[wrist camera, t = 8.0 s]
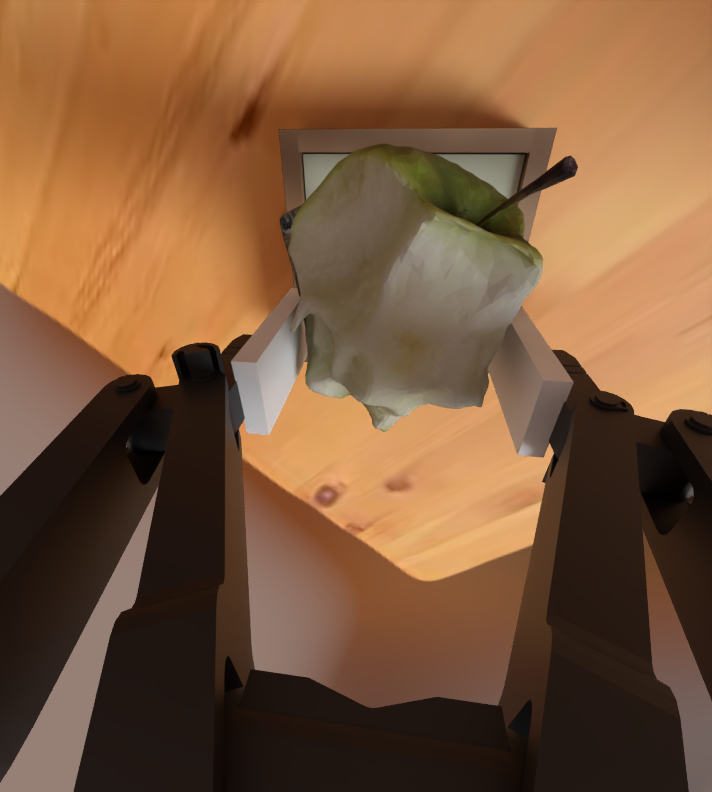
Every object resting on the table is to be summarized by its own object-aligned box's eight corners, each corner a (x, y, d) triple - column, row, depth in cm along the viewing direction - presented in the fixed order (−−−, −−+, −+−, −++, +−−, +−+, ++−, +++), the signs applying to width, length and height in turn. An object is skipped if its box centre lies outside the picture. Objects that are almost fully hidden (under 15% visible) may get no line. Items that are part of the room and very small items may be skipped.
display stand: (300, 131, 23) (278, 129, 19) (530, 130, 22) (557, 127, 18) (315, 334, 31) (301, 361, 27) (484, 342, 30) (494, 373, 26)
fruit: (450, 87, 13) (598, 23, 6) (507, 314, 18) (621, 414, 11) (228, 219, 14) (152, 282, 8) (338, 392, 19) (350, 519, 13)
